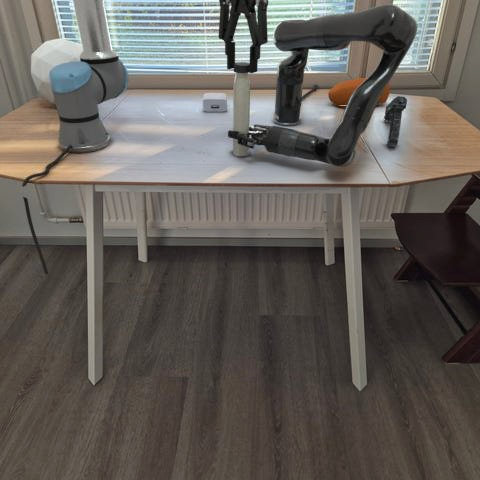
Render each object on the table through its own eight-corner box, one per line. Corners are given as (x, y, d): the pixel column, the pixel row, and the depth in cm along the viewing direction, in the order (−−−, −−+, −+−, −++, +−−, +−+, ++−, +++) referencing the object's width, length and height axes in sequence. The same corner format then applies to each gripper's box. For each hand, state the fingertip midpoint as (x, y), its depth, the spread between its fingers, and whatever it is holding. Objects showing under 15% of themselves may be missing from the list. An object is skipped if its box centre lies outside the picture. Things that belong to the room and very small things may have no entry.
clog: (332, 114, 163) (392, 106, 164) (333, 87, 157) (396, 78, 158) (323, 105, 173) (381, 98, 174) (324, 79, 167) (383, 71, 167)
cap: (242, 68, 114) (242, 61, 113) (253, 71, 111) (254, 64, 110) (230, 71, 111) (230, 63, 110) (241, 74, 108) (241, 66, 107)
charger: (226, 100, 170) (227, 111, 158) (204, 100, 170) (203, 111, 158) (226, 88, 168) (226, 99, 155) (204, 88, 167) (202, 99, 155)
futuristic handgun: (389, 146, 153) (397, 104, 149) (399, 145, 125) (409, 94, 122) (379, 144, 154) (386, 103, 150) (386, 144, 126) (395, 93, 122)
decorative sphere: (41, 71, 170) (18, 23, 146) (103, 69, 174) (90, 22, 151) (41, 120, 163) (17, 77, 140) (106, 117, 167) (93, 75, 144)
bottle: (251, 153, 125) (254, 65, 110) (240, 157, 122) (241, 68, 108) (241, 149, 127) (242, 63, 113) (229, 153, 125) (229, 65, 110)
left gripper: (202, -32, 100) (205, 67, 113) (269, -30, 91) (264, 78, 104) (220, -32, 105) (222, 63, 118) (286, -30, 96) (280, 73, 109)
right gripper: (296, 121, 118) (244, 112, 125) (275, 136, 108) (220, 125, 115) (293, 146, 123) (244, 135, 129) (273, 163, 112) (220, 150, 119)
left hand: (242, 70), depth 111 cm, fingers open, 7 cm apart
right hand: (233, 130), depth 122 cm, fingers closed on bottle, 4 cm apart
